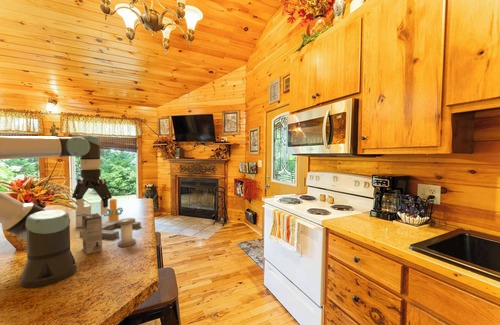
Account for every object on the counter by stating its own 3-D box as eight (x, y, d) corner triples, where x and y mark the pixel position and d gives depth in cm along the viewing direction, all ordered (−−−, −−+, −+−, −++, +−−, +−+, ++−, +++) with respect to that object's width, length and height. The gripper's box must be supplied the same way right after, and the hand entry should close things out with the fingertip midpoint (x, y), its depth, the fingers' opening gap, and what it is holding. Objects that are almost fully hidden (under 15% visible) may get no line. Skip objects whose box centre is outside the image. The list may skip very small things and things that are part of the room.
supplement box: (75, 227, 134) (74, 207, 134) (77, 224, 141) (77, 205, 140) (89, 225, 138) (89, 206, 137) (91, 222, 144) (91, 204, 144)
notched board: (112, 239, 115) (112, 233, 115) (79, 236, 119) (79, 230, 119) (140, 226, 135) (140, 222, 135) (111, 224, 140) (111, 220, 140)
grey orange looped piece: (106, 225, 139) (105, 202, 139) (100, 222, 146) (99, 200, 145) (126, 220, 149) (125, 199, 149) (119, 217, 155) (119, 197, 155)
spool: (127, 247, 104) (127, 223, 104) (113, 246, 106) (113, 222, 105) (139, 241, 112) (139, 218, 111) (126, 240, 113) (125, 217, 113)
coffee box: (82, 248, 103) (81, 215, 103) (98, 244, 108) (97, 213, 107) (86, 254, 97) (85, 219, 96) (103, 250, 101) (102, 216, 101)
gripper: (119, 168, 102) (120, 212, 103) (77, 168, 108) (79, 210, 108) (105, 169, 95) (107, 216, 96) (61, 169, 100) (63, 214, 101)
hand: (92, 213), depth 102 cm, fingers open, 13 cm apart
